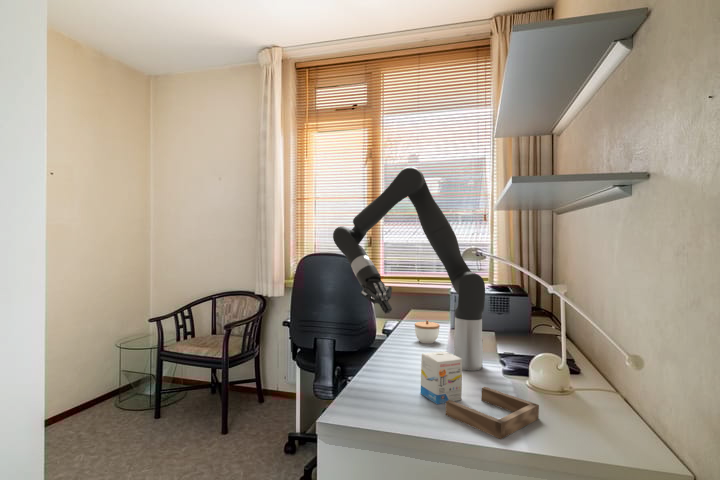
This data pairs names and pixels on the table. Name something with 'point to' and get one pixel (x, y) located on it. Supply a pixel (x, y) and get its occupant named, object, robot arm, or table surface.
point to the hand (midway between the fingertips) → (388, 311)
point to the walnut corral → (496, 427)
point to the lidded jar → (427, 331)
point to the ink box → (441, 377)
